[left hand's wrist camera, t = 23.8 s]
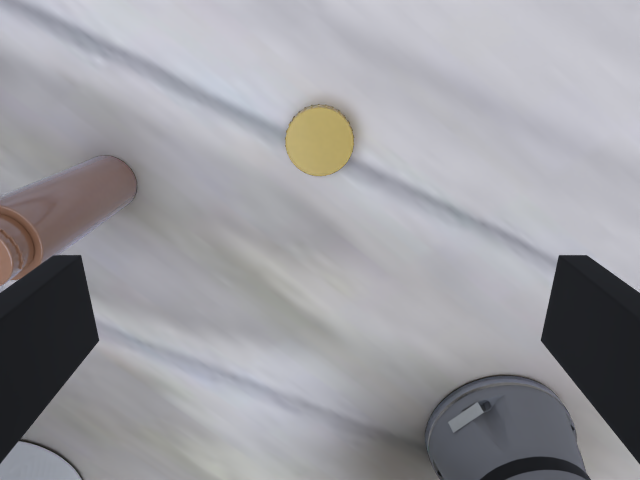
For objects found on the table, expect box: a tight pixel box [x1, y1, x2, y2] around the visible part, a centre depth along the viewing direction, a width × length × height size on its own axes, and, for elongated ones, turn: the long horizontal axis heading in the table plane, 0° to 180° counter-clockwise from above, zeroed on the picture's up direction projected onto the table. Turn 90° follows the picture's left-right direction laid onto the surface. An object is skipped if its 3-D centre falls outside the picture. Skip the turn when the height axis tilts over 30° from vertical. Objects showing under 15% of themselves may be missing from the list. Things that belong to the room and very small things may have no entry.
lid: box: [285, 104, 354, 176], centre depth 36 cm, size 6×6×2 cm
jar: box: [0, 156, 137, 286], centre depth 31 cm, size 5×5×16 cm
